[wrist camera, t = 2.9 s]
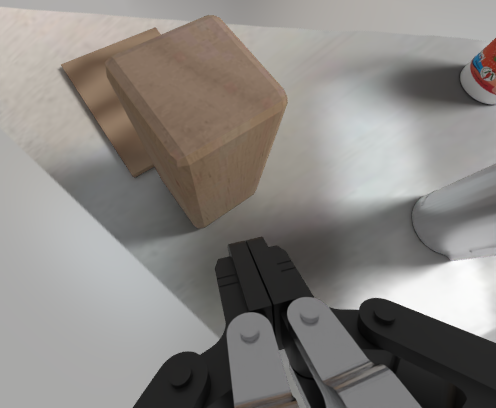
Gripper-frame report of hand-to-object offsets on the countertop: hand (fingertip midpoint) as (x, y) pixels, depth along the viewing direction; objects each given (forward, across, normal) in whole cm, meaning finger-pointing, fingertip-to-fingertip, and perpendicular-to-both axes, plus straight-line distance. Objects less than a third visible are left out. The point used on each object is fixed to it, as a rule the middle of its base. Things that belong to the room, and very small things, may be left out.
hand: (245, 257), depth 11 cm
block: (+26, 0, +7) cm, 27 cm away
